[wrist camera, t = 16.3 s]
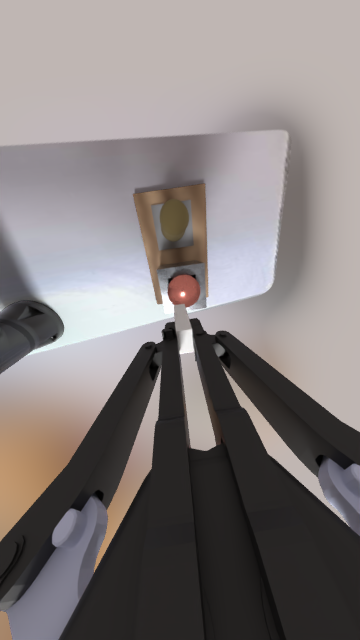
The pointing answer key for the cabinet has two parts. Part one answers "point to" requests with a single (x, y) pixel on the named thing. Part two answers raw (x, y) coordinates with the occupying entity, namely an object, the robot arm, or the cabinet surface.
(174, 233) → the olive knobbed peg
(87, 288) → the cabinet surface
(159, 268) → the grey push button box
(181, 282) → the press plunger
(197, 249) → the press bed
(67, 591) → the robot arm
